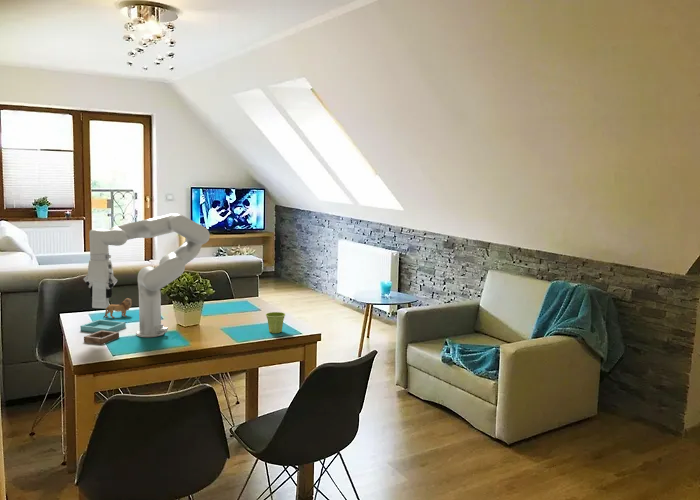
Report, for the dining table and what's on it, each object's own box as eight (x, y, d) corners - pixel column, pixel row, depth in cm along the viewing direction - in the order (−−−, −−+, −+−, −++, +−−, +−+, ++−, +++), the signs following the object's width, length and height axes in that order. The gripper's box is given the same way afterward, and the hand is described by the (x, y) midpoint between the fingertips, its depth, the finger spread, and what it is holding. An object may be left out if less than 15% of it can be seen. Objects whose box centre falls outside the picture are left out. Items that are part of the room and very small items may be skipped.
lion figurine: (129, 313, 316) (129, 297, 315) (133, 315, 312) (133, 298, 311) (101, 317, 306) (100, 300, 305) (105, 319, 302) (104, 302, 301)
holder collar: (119, 337, 272) (118, 332, 271) (102, 344, 261) (101, 338, 261) (101, 335, 274) (101, 330, 274) (84, 342, 264) (83, 336, 263)
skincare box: (108, 306, 269) (109, 280, 267) (105, 308, 265) (106, 282, 263) (94, 305, 268) (95, 279, 267) (91, 307, 264) (92, 281, 262)
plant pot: (266, 335, 283) (267, 317, 282) (264, 329, 292) (264, 312, 291) (286, 334, 285) (286, 316, 284) (283, 328, 294) (283, 311, 293)
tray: (125, 327, 289) (125, 322, 289) (107, 334, 277) (107, 329, 276) (99, 324, 293) (99, 319, 293) (80, 331, 281) (80, 325, 280)
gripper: (122, 256, 266) (123, 296, 268) (87, 255, 269) (88, 294, 271) (112, 259, 258) (114, 299, 261) (76, 257, 261) (78, 297, 264)
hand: (101, 296), depth 266 cm, fingers closed on skincare box, 7 cm apart
